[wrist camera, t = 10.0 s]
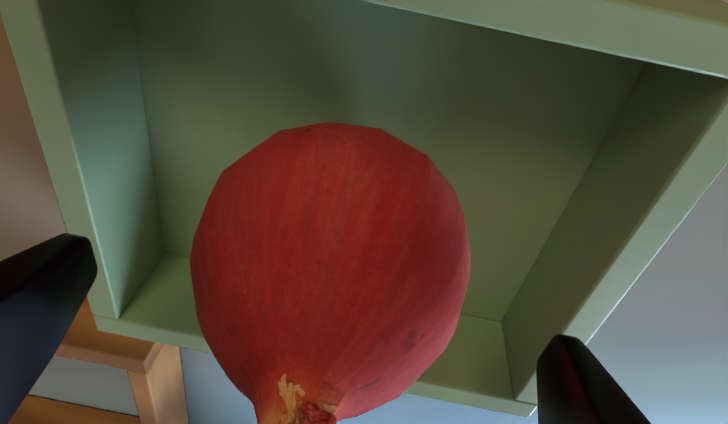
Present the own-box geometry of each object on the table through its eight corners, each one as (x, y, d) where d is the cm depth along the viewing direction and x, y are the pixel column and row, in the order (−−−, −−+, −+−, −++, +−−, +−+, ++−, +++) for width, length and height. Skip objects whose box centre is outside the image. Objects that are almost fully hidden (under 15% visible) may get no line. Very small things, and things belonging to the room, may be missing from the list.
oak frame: (191, 433, 25) (170, 482, 23) (-55, 384, 25) (-97, 429, 23) (174, 309, 18) (144, 361, 16) (-158, 241, 18) (-230, 286, 16)
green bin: (512, 328, 17) (529, 418, 14) (151, 254, 17) (96, 331, 14) (710, -5, 10) (824, 43, 7) (88, -140, 10) (-50, -145, 7)
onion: (435, 259, 14) (442, 561, 8) (259, 232, 15) (130, 507, 8) (483, 86, 11) (560, 378, 5) (251, 53, 11) (16, 293, 5)
